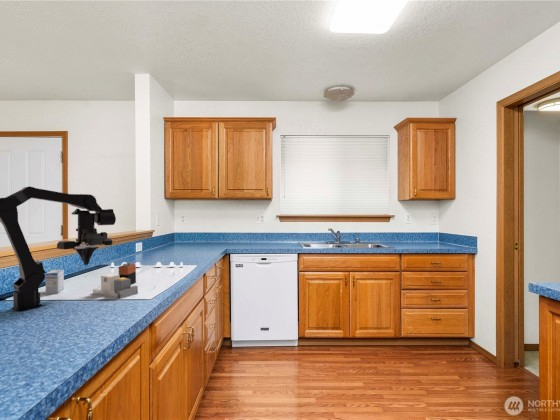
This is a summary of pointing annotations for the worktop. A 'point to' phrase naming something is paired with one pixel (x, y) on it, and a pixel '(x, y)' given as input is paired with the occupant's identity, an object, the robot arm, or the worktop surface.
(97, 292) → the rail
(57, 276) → the medicine box
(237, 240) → the worktop surface
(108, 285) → the block
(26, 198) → the robot arm
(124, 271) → the battery
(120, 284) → the relay block
